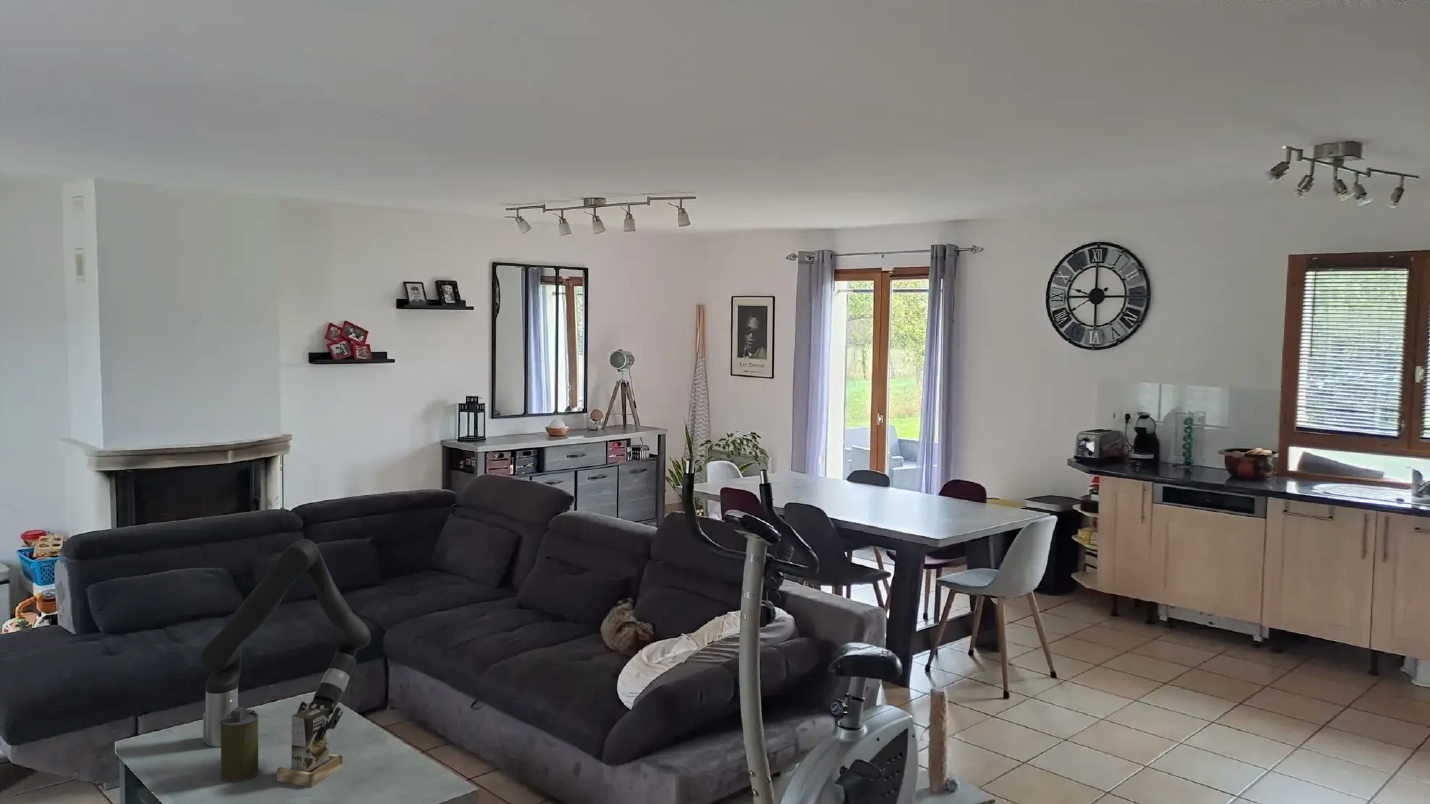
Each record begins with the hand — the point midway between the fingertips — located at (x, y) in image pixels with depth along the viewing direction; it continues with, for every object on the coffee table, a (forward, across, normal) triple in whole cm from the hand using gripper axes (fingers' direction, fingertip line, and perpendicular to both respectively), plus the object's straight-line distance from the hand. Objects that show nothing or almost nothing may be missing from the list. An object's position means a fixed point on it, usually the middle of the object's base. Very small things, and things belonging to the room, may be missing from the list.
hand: (306, 738), depth 296 cm
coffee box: (+5, 0, +7) cm, 9 cm away
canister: (+12, -19, +4) cm, 23 cm away
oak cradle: (+7, 0, +9) cm, 11 cm away
